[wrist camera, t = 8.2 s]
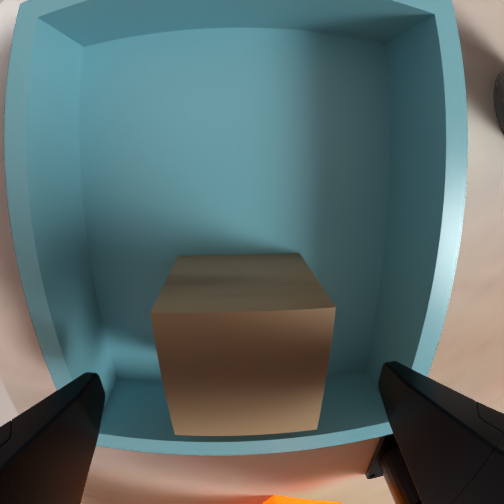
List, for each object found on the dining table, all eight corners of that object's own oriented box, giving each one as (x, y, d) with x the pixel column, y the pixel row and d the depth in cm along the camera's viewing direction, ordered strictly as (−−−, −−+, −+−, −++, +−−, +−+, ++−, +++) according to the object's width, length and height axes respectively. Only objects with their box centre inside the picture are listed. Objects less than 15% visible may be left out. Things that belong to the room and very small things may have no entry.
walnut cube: (293, 353, 15) (316, 429, 10) (188, 356, 14) (175, 434, 10) (299, 253, 13) (335, 307, 8) (177, 255, 13) (150, 312, 8)
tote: (371, 371, 17) (406, 429, 12) (110, 380, 16) (82, 443, 11) (393, 35, 11) (451, 0, 7) (75, 39, 11) (20, 4, 6)
